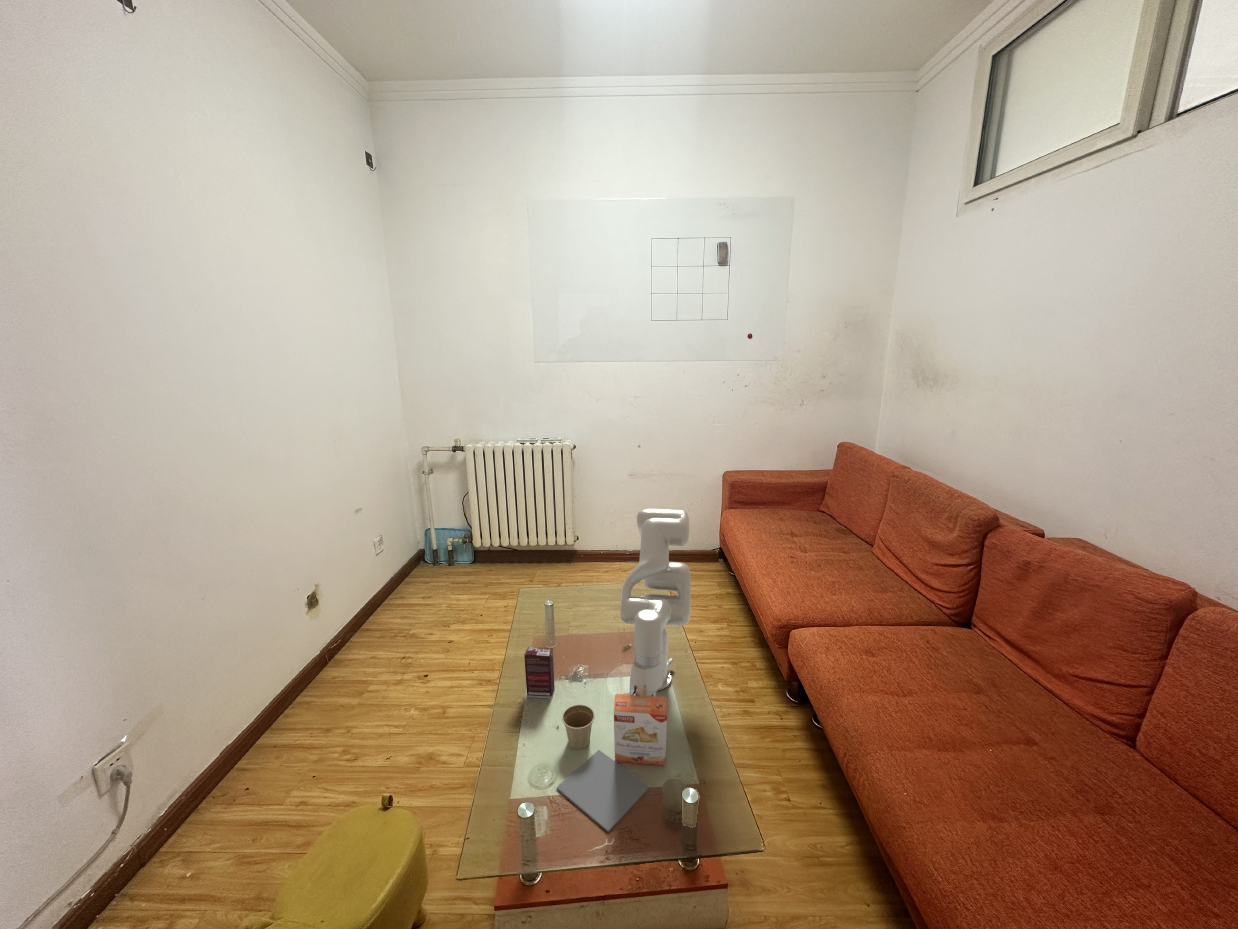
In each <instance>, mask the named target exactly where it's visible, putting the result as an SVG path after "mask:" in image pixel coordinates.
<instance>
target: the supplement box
mask: <svg viewBox="0 0 1238 929" xmlns="http://www.w3.org/2000/svg"><path fill="white" fill-rule="evenodd" d="M553 649H554V648H553V647H539V646H527V648H526V650H525V652H524V654H523V655H524V656H523V657H524V672H525V684H526V686H525V689H526V697H527V698H532V699H534V698H536V699H553V697H554V692H555V689H556V688H555V668H554V665H555V664H554V650H553Z"/></svg>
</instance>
